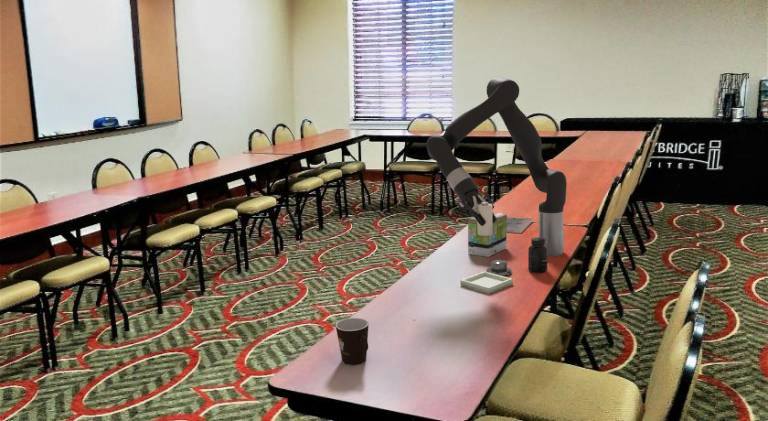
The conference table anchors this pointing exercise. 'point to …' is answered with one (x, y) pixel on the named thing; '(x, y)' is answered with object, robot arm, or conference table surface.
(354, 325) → the coffee mug
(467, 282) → the tray
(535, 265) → the supplement bottle
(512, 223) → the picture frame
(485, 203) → the white knobbed cylinder
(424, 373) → the conference table surface
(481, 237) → the tea box
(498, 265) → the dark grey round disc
